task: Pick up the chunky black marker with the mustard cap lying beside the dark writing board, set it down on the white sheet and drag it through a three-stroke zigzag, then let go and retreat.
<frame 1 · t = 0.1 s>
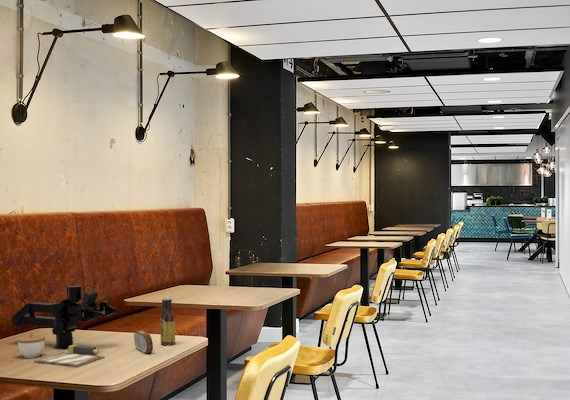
hand: (110, 312, 310), 17 cm above the table, tool horizontal, fingers open, 9 cm apart
sauce bottle: (168, 344, 322), on the table
marker: (82, 353, 308), on the table
tin: (143, 352, 309), on the table
writing board: (69, 360, 297), on the table
lidded jar: (31, 356, 306), on the table
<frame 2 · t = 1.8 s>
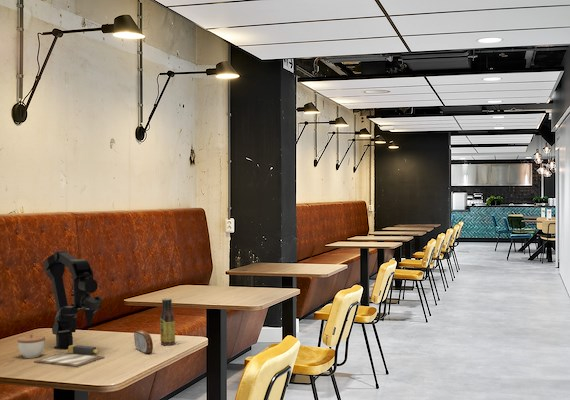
hand: (81, 328, 308), 11 cm above the table, tool pointing down, fingers open, 9 cm apart
nothing on the table moved.
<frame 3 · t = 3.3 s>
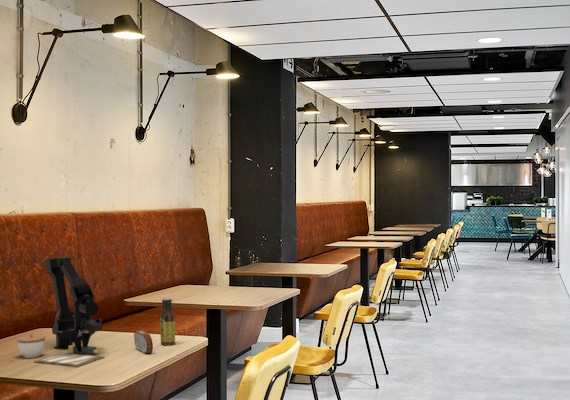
hand: (82, 350, 308), 1 cm above the table, tool pointing down, fingers closed on marker, 3 cm apart
marker: (82, 353, 308), on the table, touching gripper
everything else where it was.
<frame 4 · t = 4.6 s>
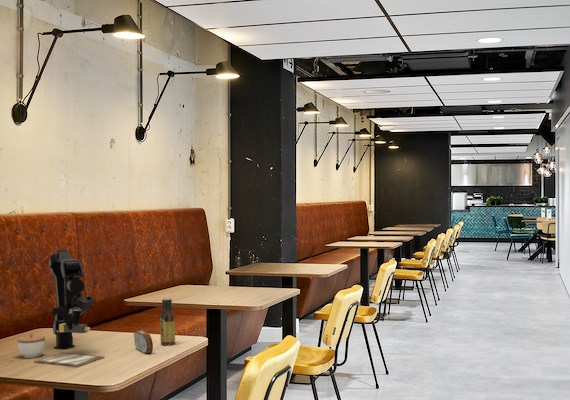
hand: (73, 328, 304), 11 cm above the table, tool pointing down, fingers closed on marker, 3 cm apart
marker: (73, 331, 304), point 10 cm above the table, touching gripper
everything else where it was.
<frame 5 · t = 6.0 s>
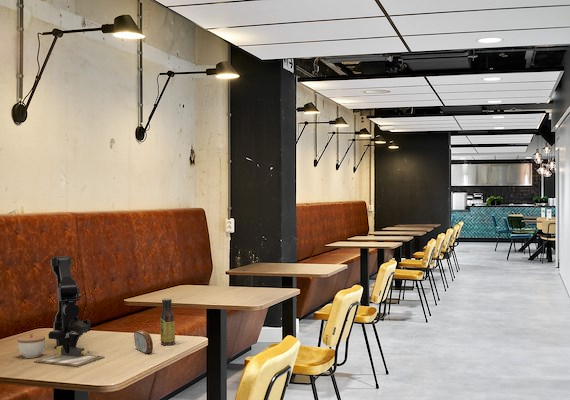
hand: (70, 352, 303), 2 cm above the table, tool pointing down, fingers closed on marker, 3 cm apart
marker: (70, 354, 303), point 1 cm above the table, touching gripper, writing board
everything else where it was.
when the fingers open (2 cm above the table, at t = 13.3 s): marker stays where it is, resting on writing board.
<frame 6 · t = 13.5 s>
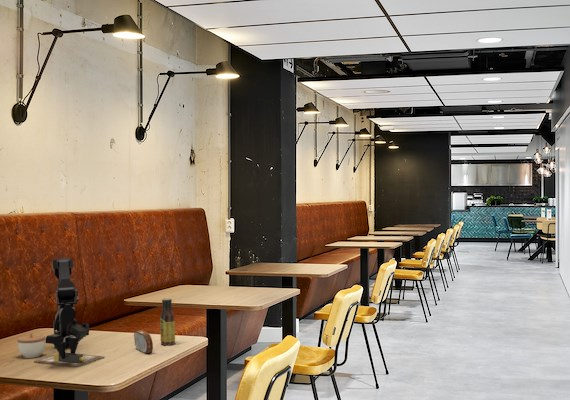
hand: (68, 357, 292), 2 cm above the table, tool pointing down, fingers open, 5 cm apart
marker: (68, 361, 292), point 1 cm above the table, touching writing board
everything else where it was.
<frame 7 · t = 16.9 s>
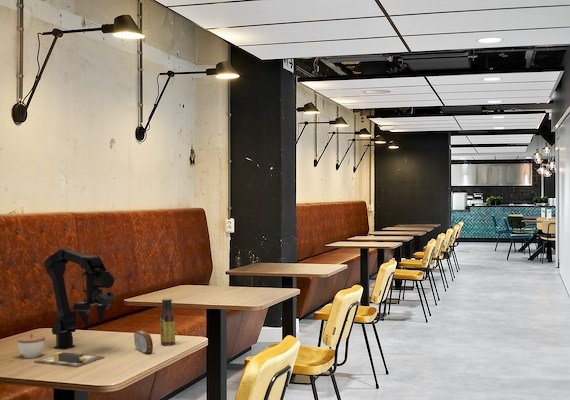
hand: (93, 324, 309), 12 cm above the table, tool pointing down, fingers open, 9 cm apart
nothing on the table moved.
at the end: marker inside the target area on the writing board (5.0 cm from its centre), point 0.7 cm above the writing board's base; marker moved 16.2 cm from its start; the gripper is holding nothing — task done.
